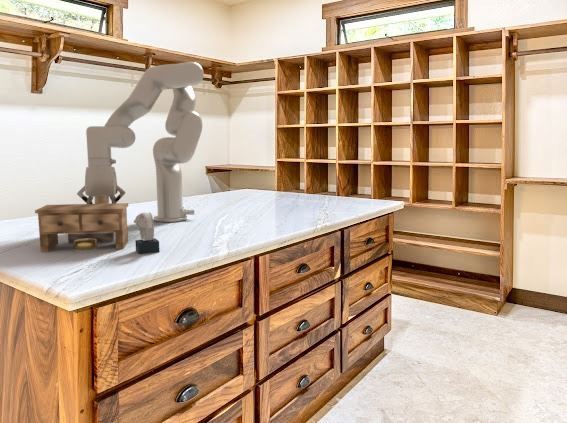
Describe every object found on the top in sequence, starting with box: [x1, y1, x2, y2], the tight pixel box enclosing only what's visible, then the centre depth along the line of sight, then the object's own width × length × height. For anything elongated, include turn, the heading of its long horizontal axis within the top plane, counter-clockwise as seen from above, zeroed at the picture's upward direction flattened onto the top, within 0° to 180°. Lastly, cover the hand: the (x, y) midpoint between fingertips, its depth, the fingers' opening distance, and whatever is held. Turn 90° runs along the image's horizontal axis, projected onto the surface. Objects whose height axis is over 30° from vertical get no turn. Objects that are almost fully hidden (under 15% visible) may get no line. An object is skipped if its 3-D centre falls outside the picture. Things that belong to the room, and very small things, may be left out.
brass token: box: [73, 238, 98, 251], centre depth 138 cm, size 6×6×2 cm
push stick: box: [67, 195, 115, 244], centre depth 155 cm, size 13×23×16 cm, turn 11°
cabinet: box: [34, 202, 129, 253], centre depth 138 cm, size 23×12×12 cm, turn 101°
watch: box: [133, 212, 160, 255], centre depth 133 cm, size 6×8×11 cm
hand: (102, 214), depth 164 cm, fingers open, 6 cm apart
